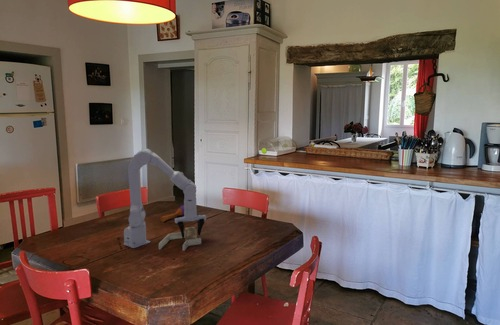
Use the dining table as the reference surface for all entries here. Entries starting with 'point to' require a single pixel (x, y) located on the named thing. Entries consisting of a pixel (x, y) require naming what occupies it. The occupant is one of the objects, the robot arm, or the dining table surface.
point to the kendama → (178, 212)
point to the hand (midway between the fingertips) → (190, 235)
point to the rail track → (178, 236)
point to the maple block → (190, 233)
